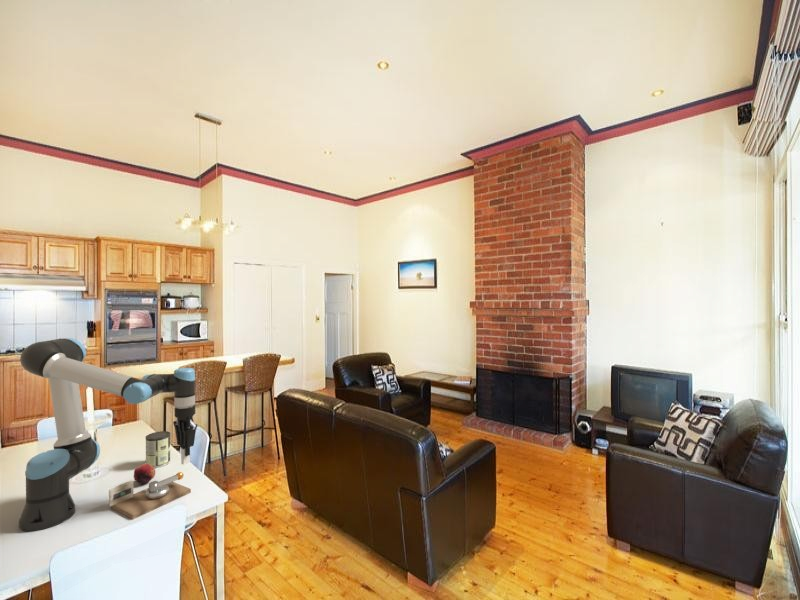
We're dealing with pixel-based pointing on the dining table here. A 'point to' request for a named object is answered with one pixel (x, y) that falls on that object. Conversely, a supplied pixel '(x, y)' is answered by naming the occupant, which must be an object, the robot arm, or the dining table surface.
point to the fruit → (144, 473)
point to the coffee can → (158, 449)
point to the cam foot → (161, 487)
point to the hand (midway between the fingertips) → (185, 462)
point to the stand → (141, 499)
